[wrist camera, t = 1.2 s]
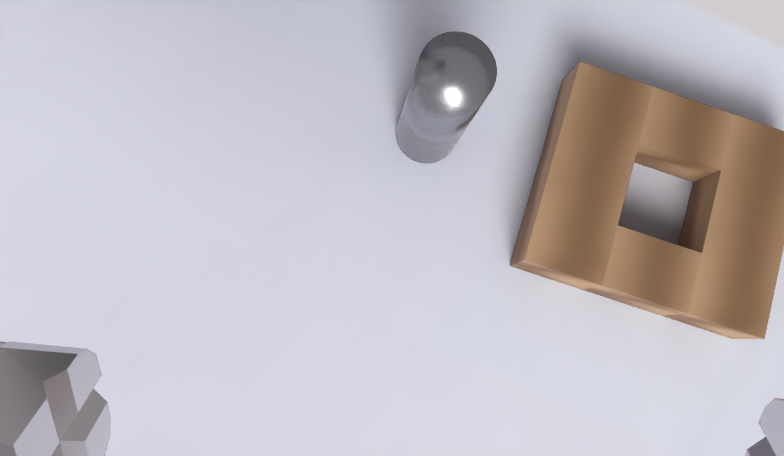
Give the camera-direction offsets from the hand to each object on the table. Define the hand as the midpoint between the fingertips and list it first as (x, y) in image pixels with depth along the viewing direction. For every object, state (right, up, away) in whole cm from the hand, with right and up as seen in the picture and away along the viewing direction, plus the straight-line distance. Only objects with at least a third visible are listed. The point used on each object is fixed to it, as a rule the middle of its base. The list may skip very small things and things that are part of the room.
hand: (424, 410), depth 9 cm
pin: (+2, +8, +33) cm, 33 cm away
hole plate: (+15, +3, +33) cm, 37 cm away
